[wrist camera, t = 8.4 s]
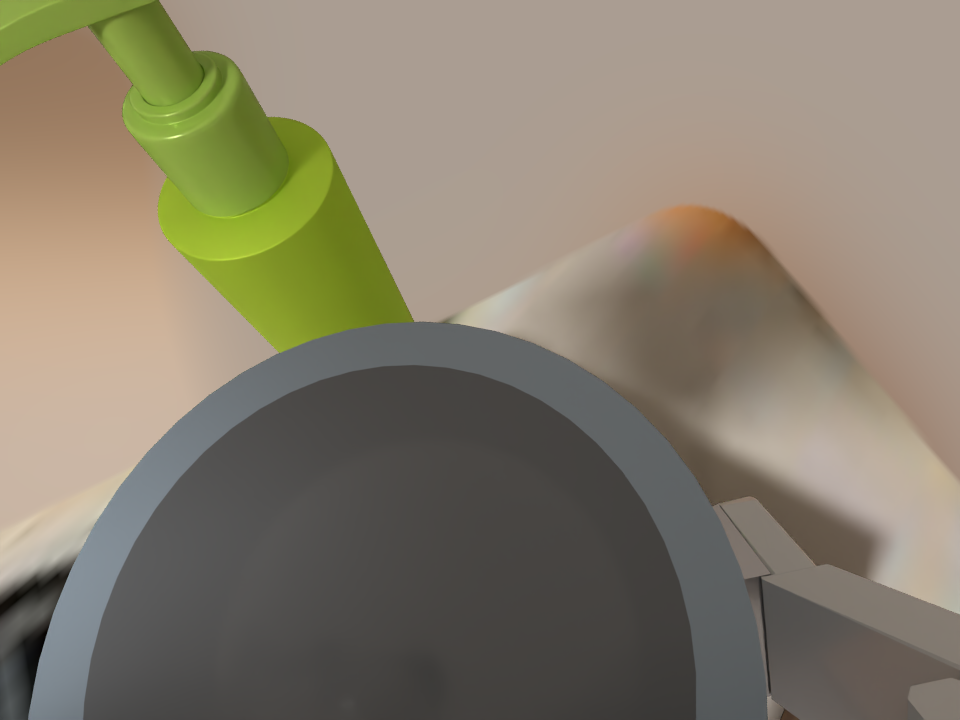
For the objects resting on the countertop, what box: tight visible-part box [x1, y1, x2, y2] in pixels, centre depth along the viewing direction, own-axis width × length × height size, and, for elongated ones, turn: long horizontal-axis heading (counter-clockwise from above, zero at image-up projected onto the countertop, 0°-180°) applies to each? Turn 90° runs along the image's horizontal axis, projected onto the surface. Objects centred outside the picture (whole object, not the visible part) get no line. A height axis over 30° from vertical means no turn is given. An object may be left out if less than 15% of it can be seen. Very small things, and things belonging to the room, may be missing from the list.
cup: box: [28, 322, 768, 720], centre depth 9 cm, size 6×6×9 cm
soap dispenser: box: [0, 0, 414, 353], centre depth 22 cm, size 6×7×20 cm
